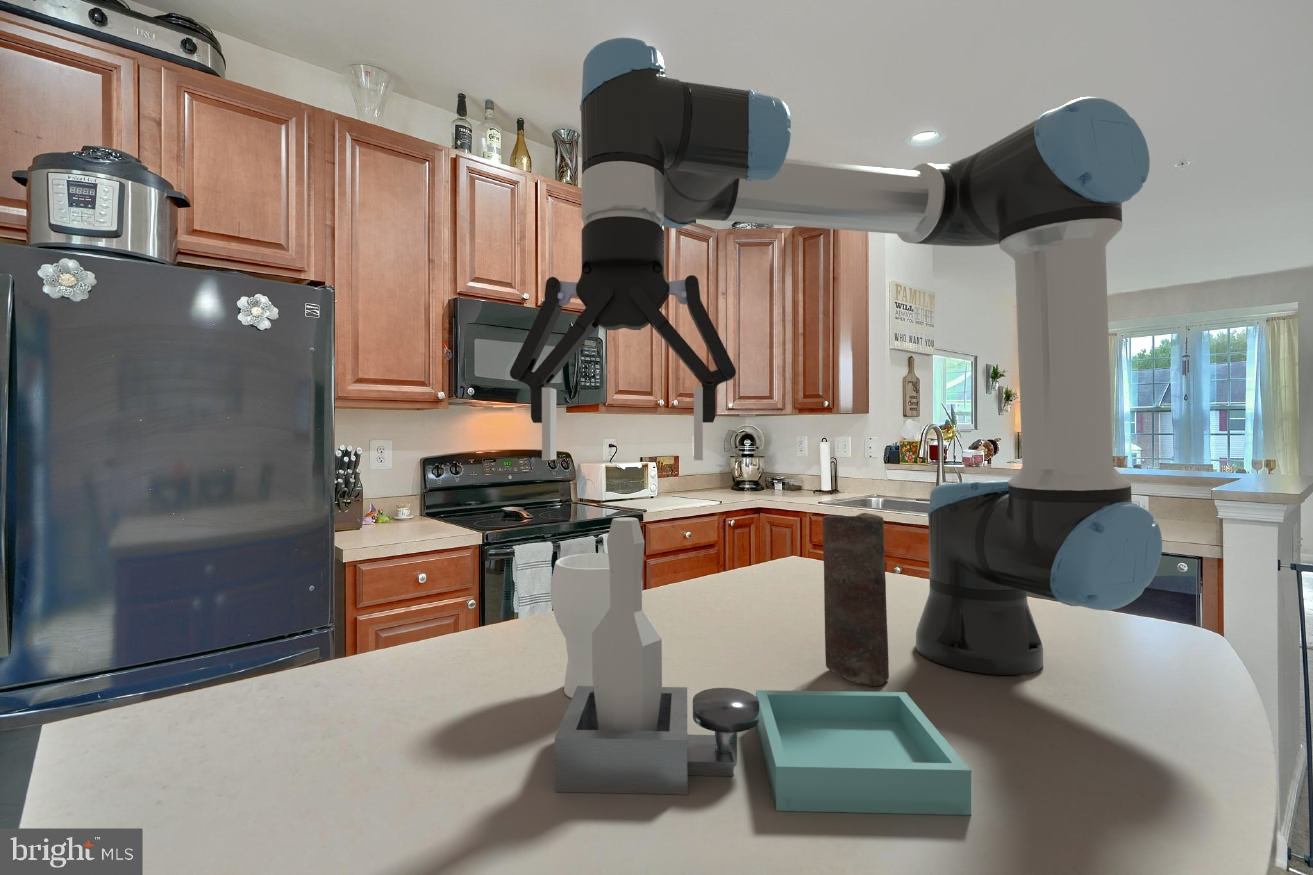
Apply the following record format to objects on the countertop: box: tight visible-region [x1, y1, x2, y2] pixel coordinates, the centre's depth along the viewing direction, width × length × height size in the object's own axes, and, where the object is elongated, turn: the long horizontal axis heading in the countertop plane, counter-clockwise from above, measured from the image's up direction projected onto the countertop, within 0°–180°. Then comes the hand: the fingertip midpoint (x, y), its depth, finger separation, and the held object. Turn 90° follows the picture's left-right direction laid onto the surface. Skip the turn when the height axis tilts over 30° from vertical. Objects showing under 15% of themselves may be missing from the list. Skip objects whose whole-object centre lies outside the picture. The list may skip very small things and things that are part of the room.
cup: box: [550, 552, 610, 699], centre depth 75 cm, size 11×11×15 cm
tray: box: [755, 689, 972, 816], centre depth 58 cm, size 15×15×4 cm
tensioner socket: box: [554, 686, 759, 796], centre depth 58 cm, size 18×11×6 cm, turn 87°
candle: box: [822, 512, 890, 687], centre depth 78 cm, size 8×7×20 cm
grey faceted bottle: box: [592, 516, 663, 731], centre depth 59 cm, size 6×6×22 cm
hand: (623, 460), depth 58 cm, fingers open, 13 cm apart
